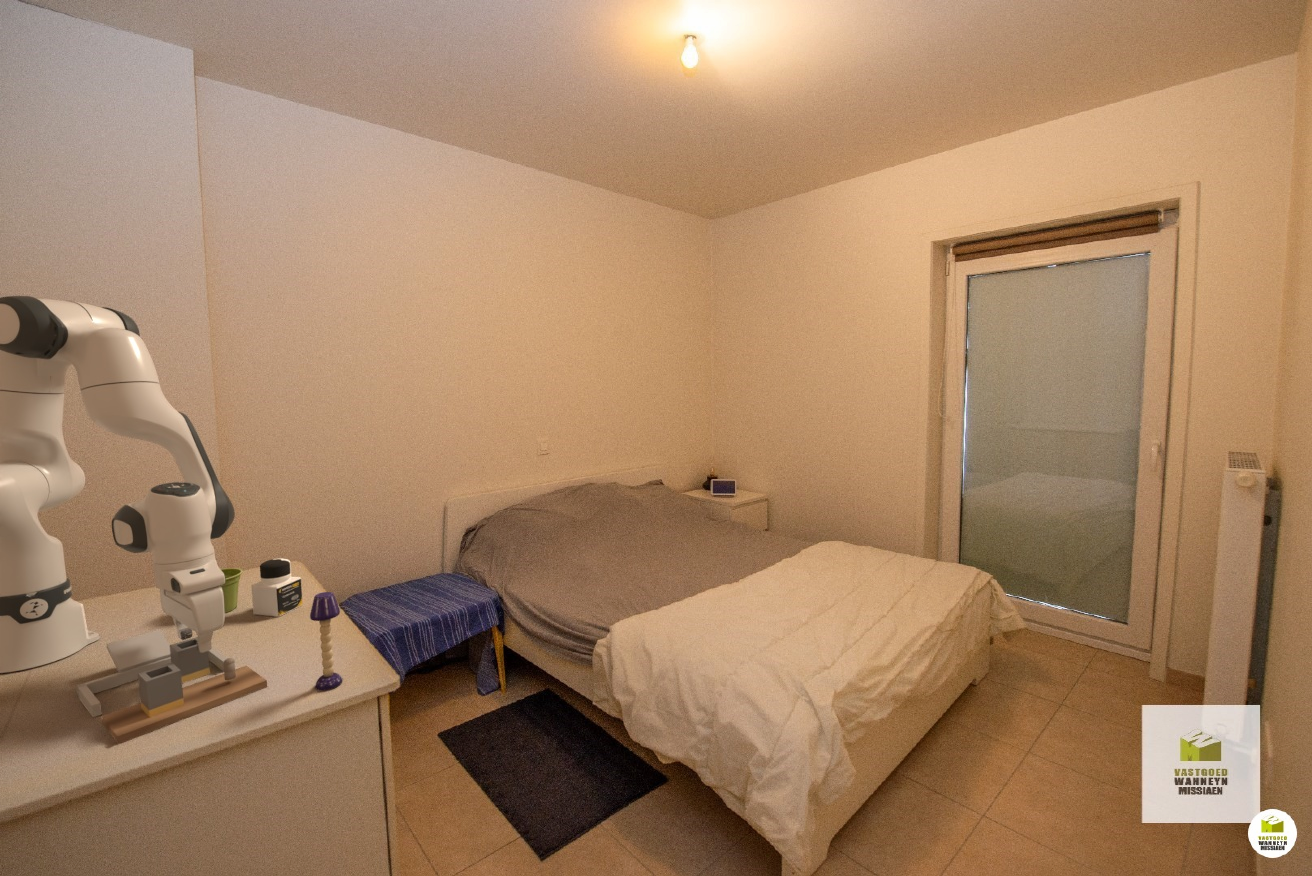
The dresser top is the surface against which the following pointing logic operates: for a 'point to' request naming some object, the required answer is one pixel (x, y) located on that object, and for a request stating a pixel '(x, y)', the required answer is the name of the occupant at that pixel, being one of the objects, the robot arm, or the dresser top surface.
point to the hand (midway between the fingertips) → (194, 644)
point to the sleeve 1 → (160, 689)
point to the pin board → (186, 702)
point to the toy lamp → (326, 637)
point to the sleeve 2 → (189, 659)
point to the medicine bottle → (276, 589)
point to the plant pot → (230, 588)
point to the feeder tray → (134, 664)
